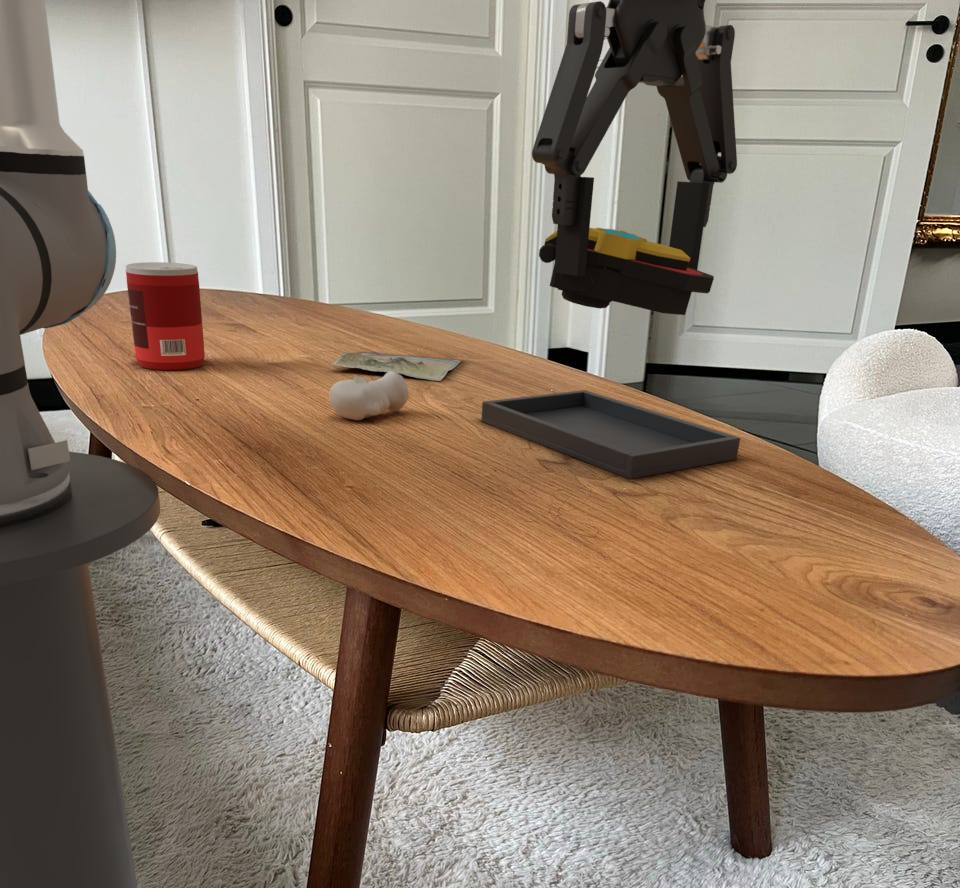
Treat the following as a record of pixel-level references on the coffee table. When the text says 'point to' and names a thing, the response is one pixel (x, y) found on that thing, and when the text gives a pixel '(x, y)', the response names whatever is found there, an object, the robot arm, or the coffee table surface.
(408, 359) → the topographic map
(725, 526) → the coffee table surface
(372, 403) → the smooth white sculpture
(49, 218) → the robot arm
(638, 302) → the gadget
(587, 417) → the dark gray tray
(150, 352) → the canned food
